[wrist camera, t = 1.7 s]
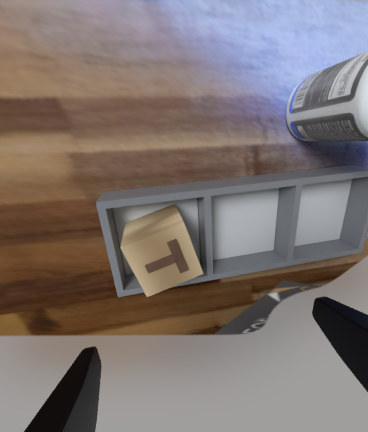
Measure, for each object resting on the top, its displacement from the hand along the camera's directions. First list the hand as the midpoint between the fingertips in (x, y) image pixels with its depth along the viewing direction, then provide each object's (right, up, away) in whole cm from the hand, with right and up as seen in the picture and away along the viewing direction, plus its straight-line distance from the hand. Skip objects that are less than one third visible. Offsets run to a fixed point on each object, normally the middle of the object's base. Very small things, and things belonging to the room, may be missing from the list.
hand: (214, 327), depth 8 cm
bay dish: (+4, +4, +10) cm, 12 cm away
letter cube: (-3, +3, +8) cm, 9 cm away
